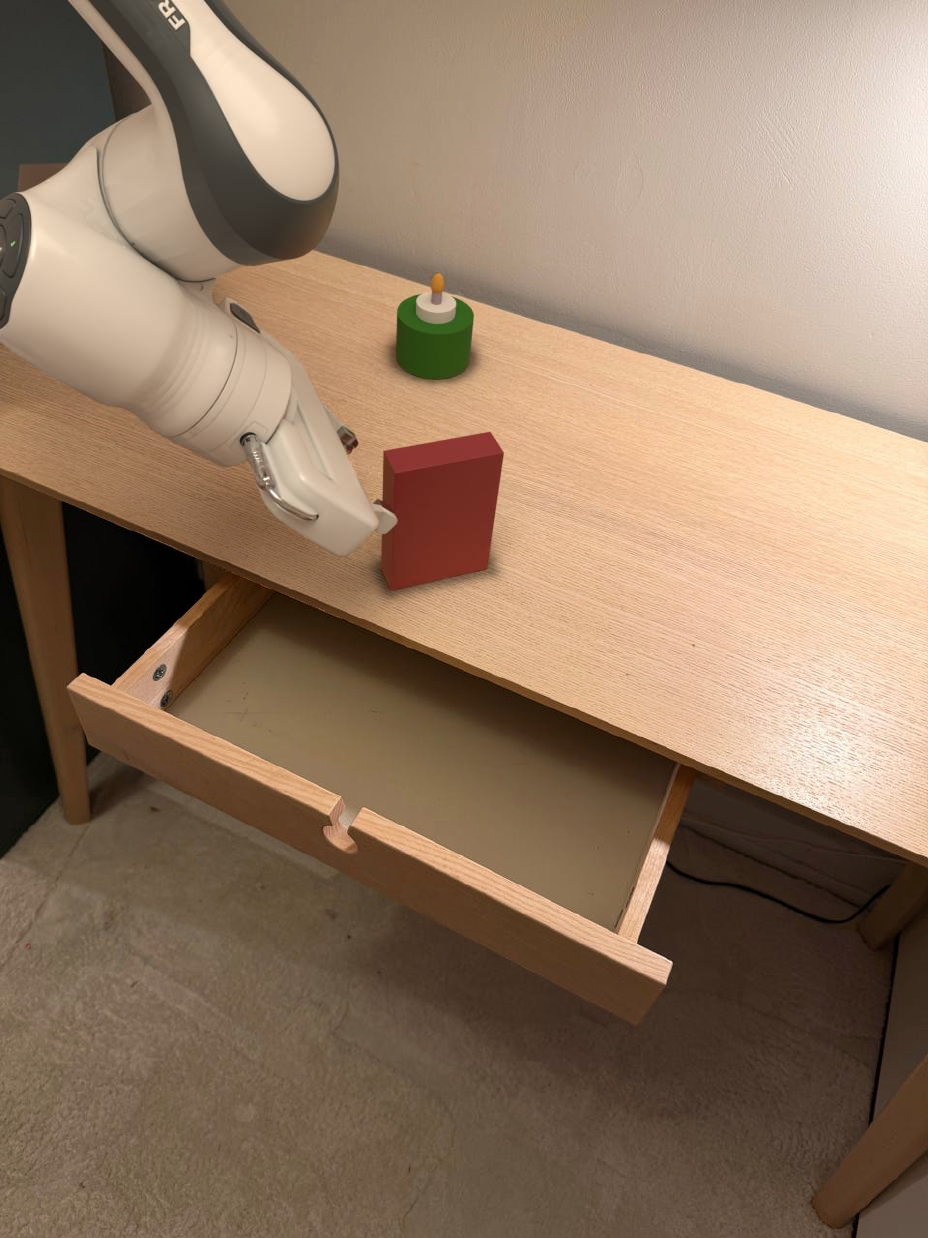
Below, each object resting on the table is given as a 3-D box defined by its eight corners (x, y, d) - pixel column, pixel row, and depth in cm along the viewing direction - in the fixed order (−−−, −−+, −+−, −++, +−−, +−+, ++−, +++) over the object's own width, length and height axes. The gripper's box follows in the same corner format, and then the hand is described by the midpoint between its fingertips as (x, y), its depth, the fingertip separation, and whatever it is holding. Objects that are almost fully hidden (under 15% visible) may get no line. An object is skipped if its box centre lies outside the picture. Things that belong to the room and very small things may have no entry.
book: (391, 591, 78) (394, 473, 68) (381, 568, 80) (383, 450, 70) (487, 568, 81) (504, 452, 71) (475, 547, 82) (490, 431, 73)
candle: (403, 381, 98) (406, 296, 91) (389, 339, 104) (391, 255, 96) (477, 376, 100) (486, 292, 93) (460, 335, 105) (467, 252, 98)
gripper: (300, 461, 53) (445, 545, 63) (224, 283, 65) (357, 379, 75) (232, 532, 55) (384, 603, 65) (171, 347, 67) (307, 431, 77)
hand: (369, 481), depth 70 cm, fingers open, 8 cm apart
